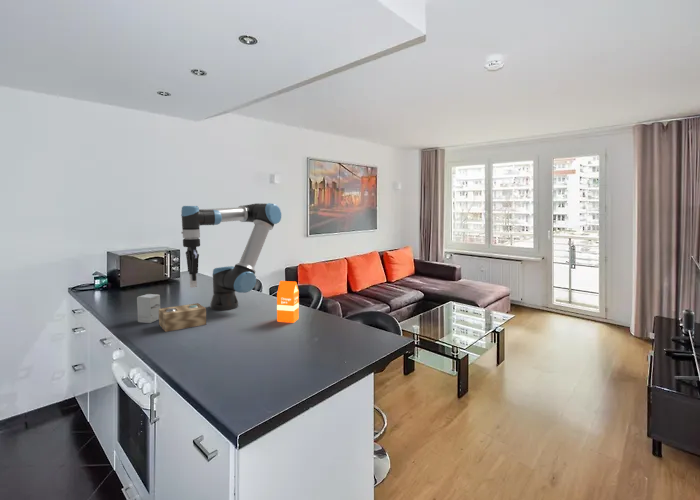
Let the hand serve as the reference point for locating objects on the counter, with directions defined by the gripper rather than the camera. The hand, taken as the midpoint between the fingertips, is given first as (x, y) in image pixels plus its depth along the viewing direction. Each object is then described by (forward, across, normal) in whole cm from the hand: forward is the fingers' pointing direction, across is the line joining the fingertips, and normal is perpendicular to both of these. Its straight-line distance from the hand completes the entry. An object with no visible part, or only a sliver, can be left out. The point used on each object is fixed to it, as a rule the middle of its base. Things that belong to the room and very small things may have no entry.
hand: (193, 287), depth 176 cm
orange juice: (+19, +23, +38) cm, 48 cm away
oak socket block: (+18, 0, -6) cm, 19 cm away
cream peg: (+18, 0, -1) cm, 18 cm away
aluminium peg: (+17, 0, -11) cm, 20 cm away
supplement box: (+18, -17, -17) cm, 30 cm away
